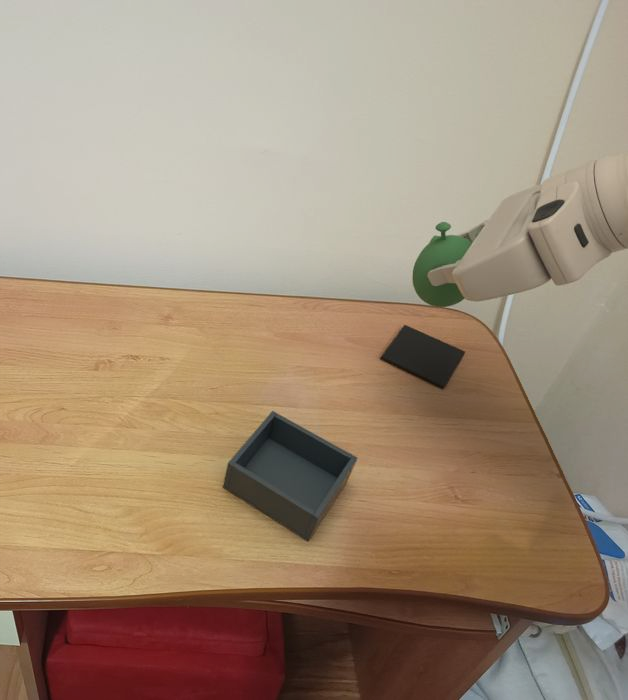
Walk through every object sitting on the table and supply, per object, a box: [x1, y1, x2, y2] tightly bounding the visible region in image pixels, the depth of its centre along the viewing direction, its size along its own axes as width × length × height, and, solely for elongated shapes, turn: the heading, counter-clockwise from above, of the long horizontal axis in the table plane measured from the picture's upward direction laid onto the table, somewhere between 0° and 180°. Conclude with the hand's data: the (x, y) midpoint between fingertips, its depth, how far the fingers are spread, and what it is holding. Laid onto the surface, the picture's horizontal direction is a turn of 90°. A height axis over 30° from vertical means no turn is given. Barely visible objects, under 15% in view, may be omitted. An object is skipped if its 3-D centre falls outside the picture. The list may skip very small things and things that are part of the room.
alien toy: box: [412, 221, 479, 308], centre depth 71 cm, size 7×8×10 cm
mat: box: [379, 324, 466, 390], centre depth 88 cm, size 9×9×1 cm
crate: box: [222, 410, 358, 542], centre depth 69 cm, size 11×10×4 cm
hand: (443, 260), depth 71 cm, fingers closed on alien toy, 7 cm apart
